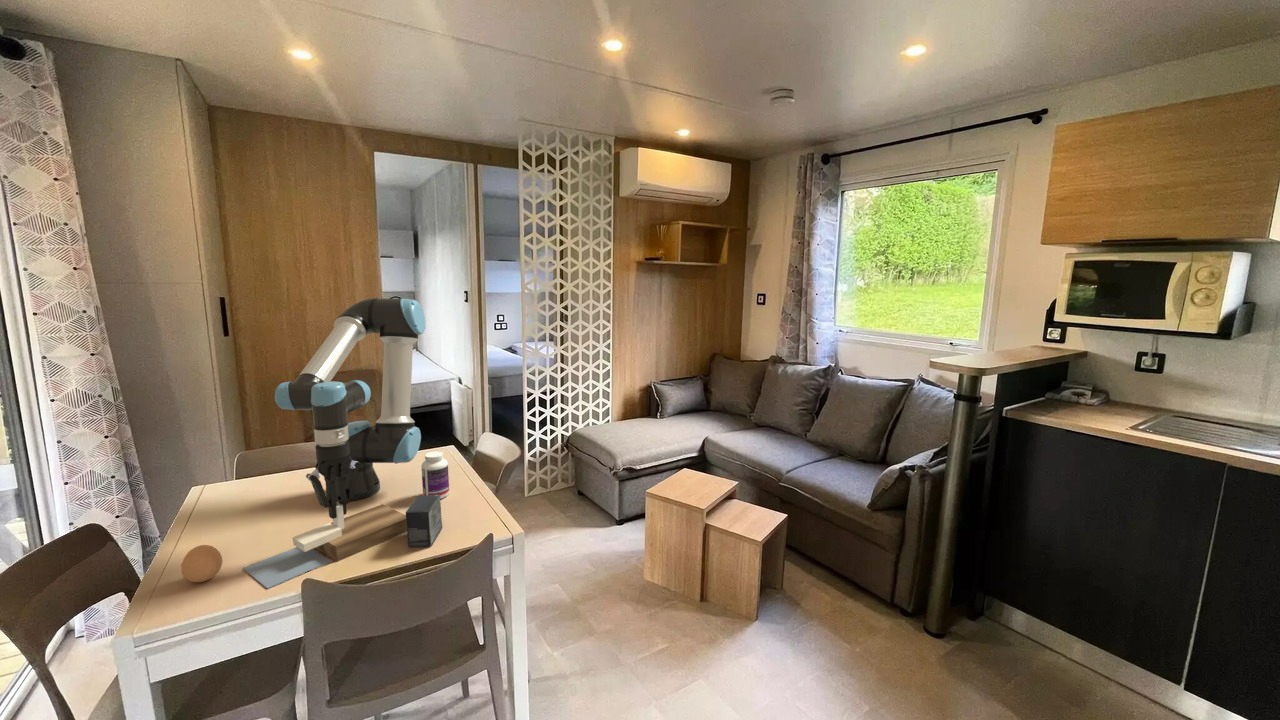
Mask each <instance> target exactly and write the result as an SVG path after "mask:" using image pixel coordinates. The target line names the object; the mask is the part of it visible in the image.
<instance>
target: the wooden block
mask: <svg viewBox="0 0 1280 720" xmlns="http://www.w3.org/2000/svg"><path fill="white" fill-rule="evenodd" d="M330 523H331V524H333V521H332V522H330ZM344 527H345V528H344V529H341V530H342V536H341V537H339V538H337V539H334V540H332V541H329V542H327V543H325V544H322V545H320V546H318V547H315V548H316V549H317V550H319V551H320V552H322V553H323V554H325V555H326V556H328V557H329V558H331V559H333V560H334V561H336V562H341V561H342V560H345V559H348V558H349V557H351V556H354V555H356V554H358V553H361V552H363V551H365V550H369V549H370V548H372V547H375V546H377V545H380V544H381V543H384V542H386V541H389V540H391V539H394V538H396V537H398V536H401V535H403V534H405V533H407V524H406V514H404V513H402V512H400V511H398V510H396V509H393V508H392V507H390V506H388V505H386V504H384V503H381V504H379V505H376V506H374V507H370V508H368V509H365V510H363V511H360V512H356V513H354V514H351V515H349V516H347V517H344Z"/></svg>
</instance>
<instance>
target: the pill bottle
mask: <svg viewBox="0 0 1280 720" xmlns="http://www.w3.org/2000/svg"><path fill="white" fill-rule="evenodd" d="M420 467H421V481H422V495H440V500H442V499H444V498H446V497H447V496H448V495H449V494H450V479H449V464H448V460H447V459H445V458H444V452H443V451H430V452H427V453H425V455H424V461H423V462H422V463H421V466H420Z"/></svg>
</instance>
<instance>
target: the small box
mask: <svg viewBox="0 0 1280 720" xmlns="http://www.w3.org/2000/svg"><path fill="white" fill-rule="evenodd" d="M441 503H442V502H441V499H440V495H423V494H421V495H418V496H417V497H416V498H415V500H414V501H413V502H412V503H411V505H410V506H409V507H408V508H407V510H406V511H405V515H406V524H407V532H406V534H407V535H406V536H407V548H409V549H411V548H413V549H414V548H431V547H432V546H433V544H434V543H435V541H436V539H437V538H438V537H439V534H441V531H442V530H443V521H442V520H443V519H442V506H441V505H442V504H441Z"/></svg>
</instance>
